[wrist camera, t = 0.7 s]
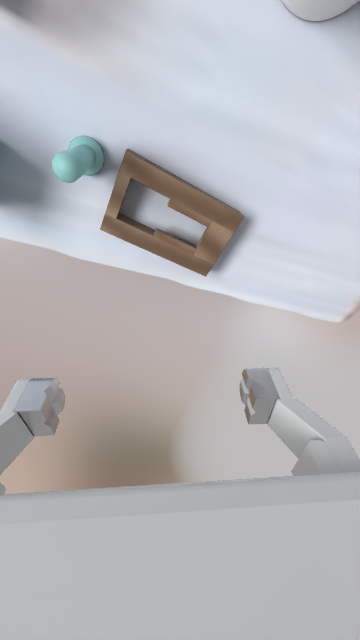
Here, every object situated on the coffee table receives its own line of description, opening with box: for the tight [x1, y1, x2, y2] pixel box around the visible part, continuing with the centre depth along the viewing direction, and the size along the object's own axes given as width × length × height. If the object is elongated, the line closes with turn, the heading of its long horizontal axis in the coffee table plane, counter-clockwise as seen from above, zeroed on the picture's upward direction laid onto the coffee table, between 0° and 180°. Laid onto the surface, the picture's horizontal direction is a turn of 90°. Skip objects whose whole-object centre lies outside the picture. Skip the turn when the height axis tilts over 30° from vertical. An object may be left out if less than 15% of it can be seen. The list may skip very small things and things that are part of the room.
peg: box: [52, 136, 104, 183], centre depth 34 cm, size 5×5×11 cm
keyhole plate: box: [100, 149, 243, 276], centre depth 44 cm, size 12×20×3 cm, turn 63°
